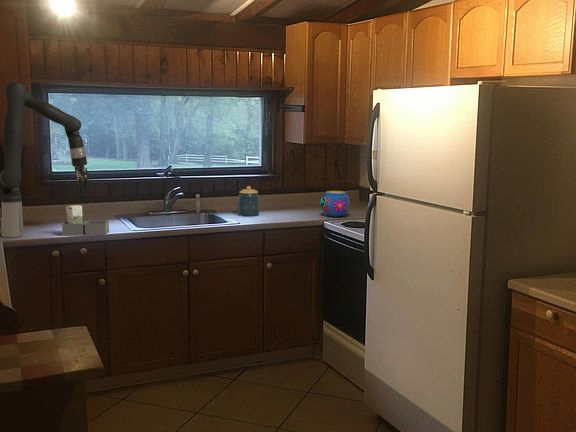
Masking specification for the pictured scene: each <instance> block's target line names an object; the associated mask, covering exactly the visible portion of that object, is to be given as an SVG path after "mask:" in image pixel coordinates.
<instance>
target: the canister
mask: <svg viewBox="0 0 576 432" xmlns="http://www.w3.org/2000/svg"><path fill="white" fill-rule="evenodd" d="M251 188H252V187H251V186H250V185H247V186H246V188H245V189H244V188H243V189H241V190H240V191H239V194H238V196H237V197H238V201H237V203H238V204H237V205H238V206H237V208H238V209H237V210H238V211H237V214H238V216H240V217H257V216H259V214H260V200H259V197H260V194H258V193H259V191H258V190H256V189H251Z"/></svg>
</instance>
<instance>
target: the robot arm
mask: <svg viewBox="0 0 576 432" xmlns="http://www.w3.org/2000/svg"><path fill="white" fill-rule="evenodd" d="M2 93H3V96H4V97H5V99H6V107H7V108H6V113H5V117H4V121H3V125H2V133H1V135H2V137H1V139H2V149H3V150H2V151H3V156H4V166H3V170H1V172H0V201H1V204H0V205H1V216H2V217H0V224H1V226H0V227H1V237H4V238H18V237H22V236H24V222H23V221H24V220H23V219H24V218H23V205H22V204H23V203H22V194H21V191H20V190H21V189H20V185H21V184H22V183H21V182H22V180H23V179H22V178H23V177H22V164H21V161H22V153H23V141H24V108H25V107H26V108H28V109H30V110H32V111H34V112H36V113H37V114H39V115H41V116H42V117H44V118H45V119H48V120H49V121H51V122H54V123H55V124H59V125H61V126H62V127H63V128H64V131H65V134H66V138H67V139H68V146H69V154H70V160H71V165H72V167H74V173H75V178H76V179H77V181H78V186H79V187H83V188H84V189H88V188H89V187H90V186H89V181H88V180H90V177H89V172H88V168H87V167H85V166H86V165H88V160H87V154H86V149H85V146H84V139H83V137H82V136H81V134H80V130H81V128H82V122H81V120H79V119H78V118H77V117H76V116H73V115H71V114H69V113H66V112H65V111H63V110H62V109H60V108H58V107H56V106H55V105H53V104H51V103H49V102H47V101H44V100H42V99H40V98H38V97H36V96H34V95H32V94H31V93H29V92H28V91H27V90H26V87H25V85H24V84H23V83H21V82H18V81H10V82H8V83H6V84H5V85H4V87H3V89H2Z"/></svg>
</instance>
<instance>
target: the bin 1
mask: <svg viewBox="0 0 576 432" xmlns="http://www.w3.org/2000/svg"><path fill="white" fill-rule="evenodd" d="M86 222H88V220H83V223H82V224H67V220H66V221H64V222H63V223H62V224H61V231H62V236H63V237H65V236H66V237H68V236H69V237H70V236H71V237H73V236H75V237H78V236H85V223H86Z"/></svg>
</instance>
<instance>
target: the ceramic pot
mask: <svg viewBox="0 0 576 432" xmlns="http://www.w3.org/2000/svg"><path fill="white" fill-rule="evenodd" d="M319 204H320V206H321V210H322V212H323V213H324V214H325V215H327V216H329V217H332V218H333V217H334V218H337V217H342V216H345V215H346V214H347V213H348V211H349V210H350V206H351V201H350V197H349V195H348V193H347V192H346V191H342V190H327V191H326V192H324V194H323V195H322V197H321V198H320V201H319Z"/></svg>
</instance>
